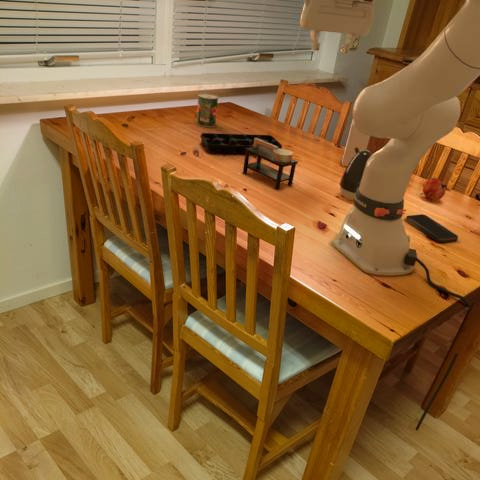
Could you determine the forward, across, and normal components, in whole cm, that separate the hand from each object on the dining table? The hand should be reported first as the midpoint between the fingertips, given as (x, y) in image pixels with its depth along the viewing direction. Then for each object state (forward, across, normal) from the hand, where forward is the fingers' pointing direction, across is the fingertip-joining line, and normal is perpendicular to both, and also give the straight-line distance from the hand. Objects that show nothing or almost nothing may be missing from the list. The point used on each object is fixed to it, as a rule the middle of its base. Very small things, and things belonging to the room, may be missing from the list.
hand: (329, 51), depth 130 cm
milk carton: (+40, +33, +19) cm, 55 cm away
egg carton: (+40, -5, +37) cm, 55 cm away
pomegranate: (+39, +44, -13) cm, 60 cm away
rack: (+39, -8, +9) cm, 41 cm away
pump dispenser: (+39, +15, -9) cm, 43 cm away
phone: (+39, +27, -32) cm, 57 cm away
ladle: (+31, -8, +9) cm, 33 cm away
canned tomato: (+41, -8, +66) cm, 78 cm away
